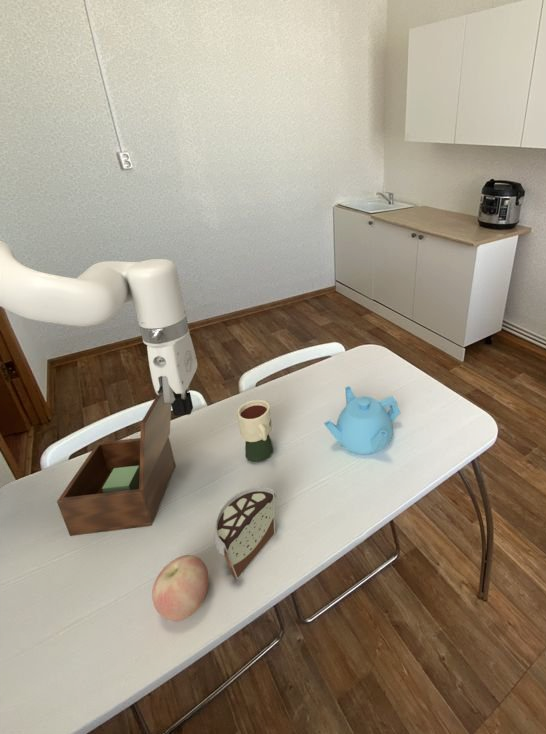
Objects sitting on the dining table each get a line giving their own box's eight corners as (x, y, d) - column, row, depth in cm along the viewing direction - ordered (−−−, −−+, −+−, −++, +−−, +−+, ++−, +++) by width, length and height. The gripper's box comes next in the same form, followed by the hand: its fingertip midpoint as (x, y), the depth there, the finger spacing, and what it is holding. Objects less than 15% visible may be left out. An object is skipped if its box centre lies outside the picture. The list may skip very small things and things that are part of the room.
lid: (140, 422, 66) (144, 423, 66) (169, 374, 79) (173, 374, 79) (139, 490, 70) (143, 490, 71) (166, 433, 84) (169, 433, 84)
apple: (202, 567, 66) (195, 535, 64) (219, 605, 61) (212, 572, 58) (153, 602, 61) (142, 568, 59) (166, 646, 56) (155, 612, 53)
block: (108, 507, 77) (101, 488, 75) (119, 486, 81) (113, 468, 80) (134, 504, 77) (128, 485, 76) (144, 483, 82) (139, 465, 80)
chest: (69, 536, 72) (56, 501, 69) (107, 473, 86) (97, 442, 83) (151, 526, 74) (141, 492, 71) (175, 465, 87) (168, 435, 84)
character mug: (283, 461, 88) (278, 415, 83) (254, 477, 84) (247, 430, 79) (264, 434, 96) (259, 391, 92) (236, 447, 92) (229, 403, 88)
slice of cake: (257, 512, 76) (251, 474, 72) (280, 527, 73) (276, 488, 70) (205, 569, 66) (196, 528, 63) (230, 589, 63) (221, 547, 60)
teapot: (385, 469, 85) (386, 430, 82) (324, 453, 90) (321, 415, 86) (401, 423, 99) (402, 388, 95) (347, 411, 104) (346, 378, 100)
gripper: (173, 348, 61) (193, 438, 68) (198, 309, 75) (212, 387, 82) (123, 352, 61) (148, 443, 67) (158, 312, 75) (176, 390, 81)
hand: (183, 412), depth 74 cm, fingers closed
